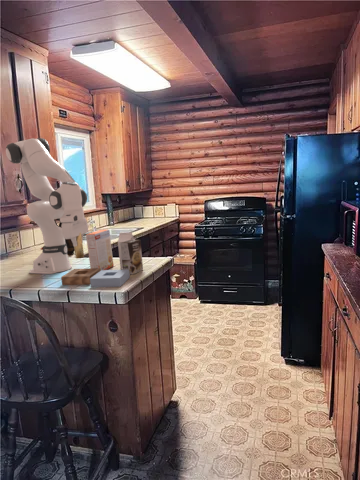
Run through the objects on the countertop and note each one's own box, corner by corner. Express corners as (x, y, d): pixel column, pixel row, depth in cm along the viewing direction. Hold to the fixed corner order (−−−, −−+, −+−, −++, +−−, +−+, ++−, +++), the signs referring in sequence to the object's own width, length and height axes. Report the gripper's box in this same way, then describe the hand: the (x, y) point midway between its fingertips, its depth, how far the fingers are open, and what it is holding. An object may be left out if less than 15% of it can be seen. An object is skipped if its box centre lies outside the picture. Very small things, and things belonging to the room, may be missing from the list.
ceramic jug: (76, 251, 245) (71, 208, 240) (79, 254, 231) (74, 209, 226) (51, 254, 238) (45, 210, 233) (52, 258, 224) (46, 212, 219)
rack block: (62, 285, 165) (61, 276, 164) (75, 276, 178) (74, 268, 177) (90, 284, 162) (89, 276, 162) (101, 275, 176) (100, 268, 175)
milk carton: (133, 269, 185) (129, 233, 181) (120, 269, 186) (116, 234, 183) (137, 265, 192) (134, 231, 188) (125, 265, 193) (121, 231, 190)
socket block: (90, 287, 158) (89, 278, 157) (102, 278, 172) (101, 270, 171) (120, 286, 156) (119, 277, 155) (129, 277, 170) (128, 269, 169)
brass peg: (74, 258, 166) (70, 233, 164) (77, 256, 170) (74, 232, 168) (82, 258, 166) (78, 233, 164) (85, 256, 170) (82, 231, 168)
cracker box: (104, 266, 196) (100, 229, 192) (114, 266, 194) (110, 229, 190) (90, 273, 183) (85, 233, 179) (99, 273, 181) (95, 233, 177)
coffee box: (132, 274, 174) (129, 243, 171) (122, 273, 177) (119, 242, 174) (143, 270, 182) (141, 239, 179) (134, 268, 185) (131, 239, 182)
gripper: (77, 214, 175) (81, 241, 178) (57, 219, 155) (62, 249, 158) (89, 213, 174) (92, 240, 177) (71, 218, 154) (75, 249, 157)
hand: (78, 245), depth 167 cm, fingers closed on brass peg, 4 cm apart
